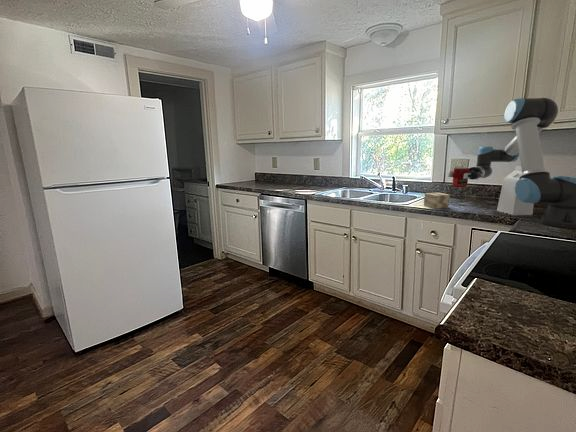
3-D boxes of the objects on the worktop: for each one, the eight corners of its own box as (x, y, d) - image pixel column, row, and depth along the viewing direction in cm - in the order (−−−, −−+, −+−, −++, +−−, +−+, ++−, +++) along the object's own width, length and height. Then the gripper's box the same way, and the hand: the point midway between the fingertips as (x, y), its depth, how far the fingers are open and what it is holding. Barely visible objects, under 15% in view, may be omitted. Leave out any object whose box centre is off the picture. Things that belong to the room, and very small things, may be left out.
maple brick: (437, 204, 202) (438, 192, 201) (448, 207, 193) (449, 194, 191) (423, 205, 200) (424, 193, 198) (434, 208, 191) (435, 195, 189)
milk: (532, 214, 172) (540, 167, 167) (512, 215, 172) (520, 167, 166) (515, 210, 184) (522, 165, 178) (496, 210, 183) (503, 165, 177)
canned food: (458, 187, 178) (461, 167, 176) (448, 185, 186) (451, 166, 183) (470, 187, 180) (472, 167, 177) (460, 185, 187) (462, 166, 185)
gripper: (493, 180, 184) (475, 184, 171) (457, 177, 201) (438, 180, 187) (495, 167, 183) (476, 170, 169) (458, 165, 199) (439, 167, 186)
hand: (456, 175), depth 179 cm, fingers closed on canned food, 8 cm apart
